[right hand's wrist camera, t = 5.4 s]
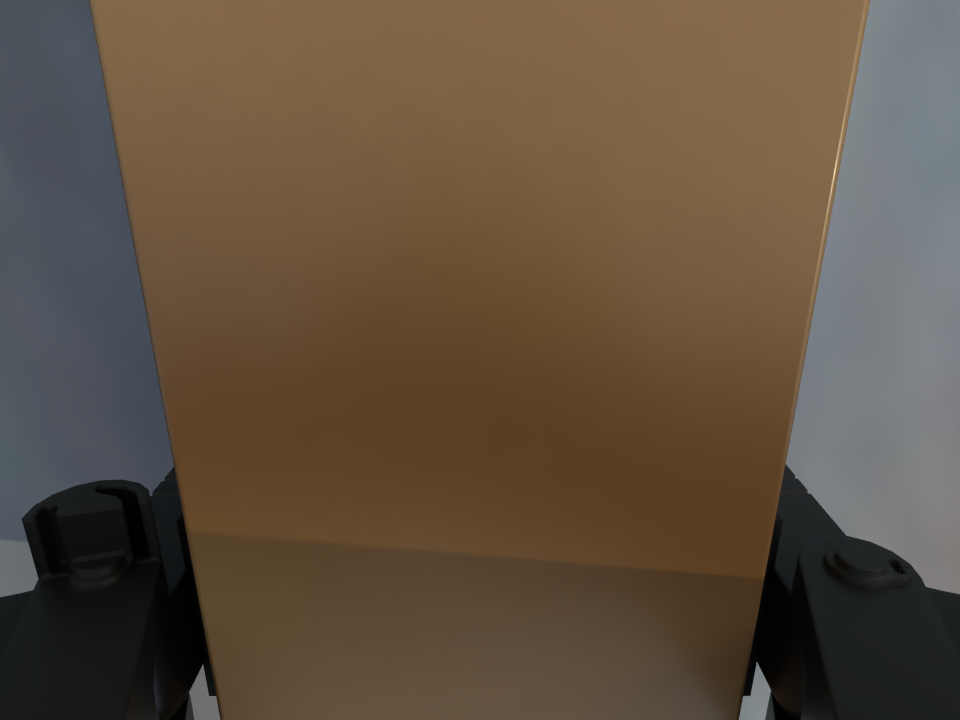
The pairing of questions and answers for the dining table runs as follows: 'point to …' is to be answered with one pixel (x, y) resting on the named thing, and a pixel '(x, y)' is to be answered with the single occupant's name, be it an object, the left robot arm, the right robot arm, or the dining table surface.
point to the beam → (479, 335)
